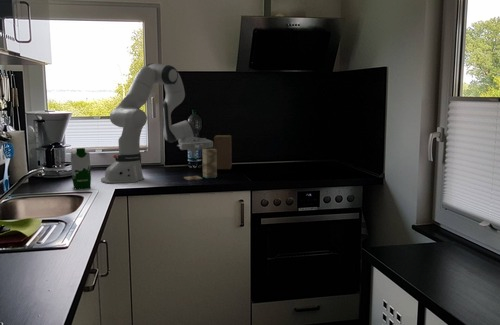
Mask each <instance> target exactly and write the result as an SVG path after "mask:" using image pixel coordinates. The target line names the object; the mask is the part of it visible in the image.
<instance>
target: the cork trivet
mask: <svg viewBox="0 0 500 325" xmlns="http://www.w3.org/2000/svg"><path fill="white" fill-rule="evenodd" d="M203 178H204V177H201V176H199V175H191V176H190V175H189V176H183V179H185V180H187V181H196V180H203Z"/></svg>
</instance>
